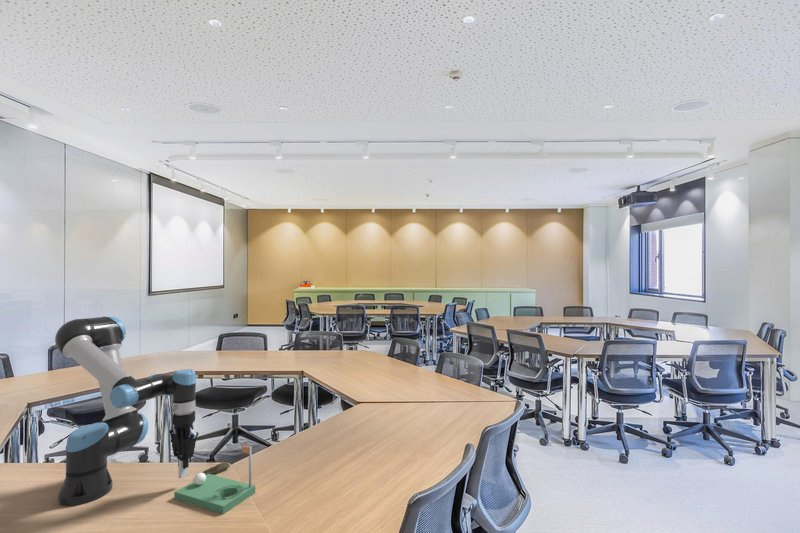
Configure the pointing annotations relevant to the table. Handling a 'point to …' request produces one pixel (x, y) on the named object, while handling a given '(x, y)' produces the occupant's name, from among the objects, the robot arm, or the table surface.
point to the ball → (199, 478)
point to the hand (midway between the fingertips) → (183, 476)
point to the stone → (217, 468)
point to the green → (217, 491)
